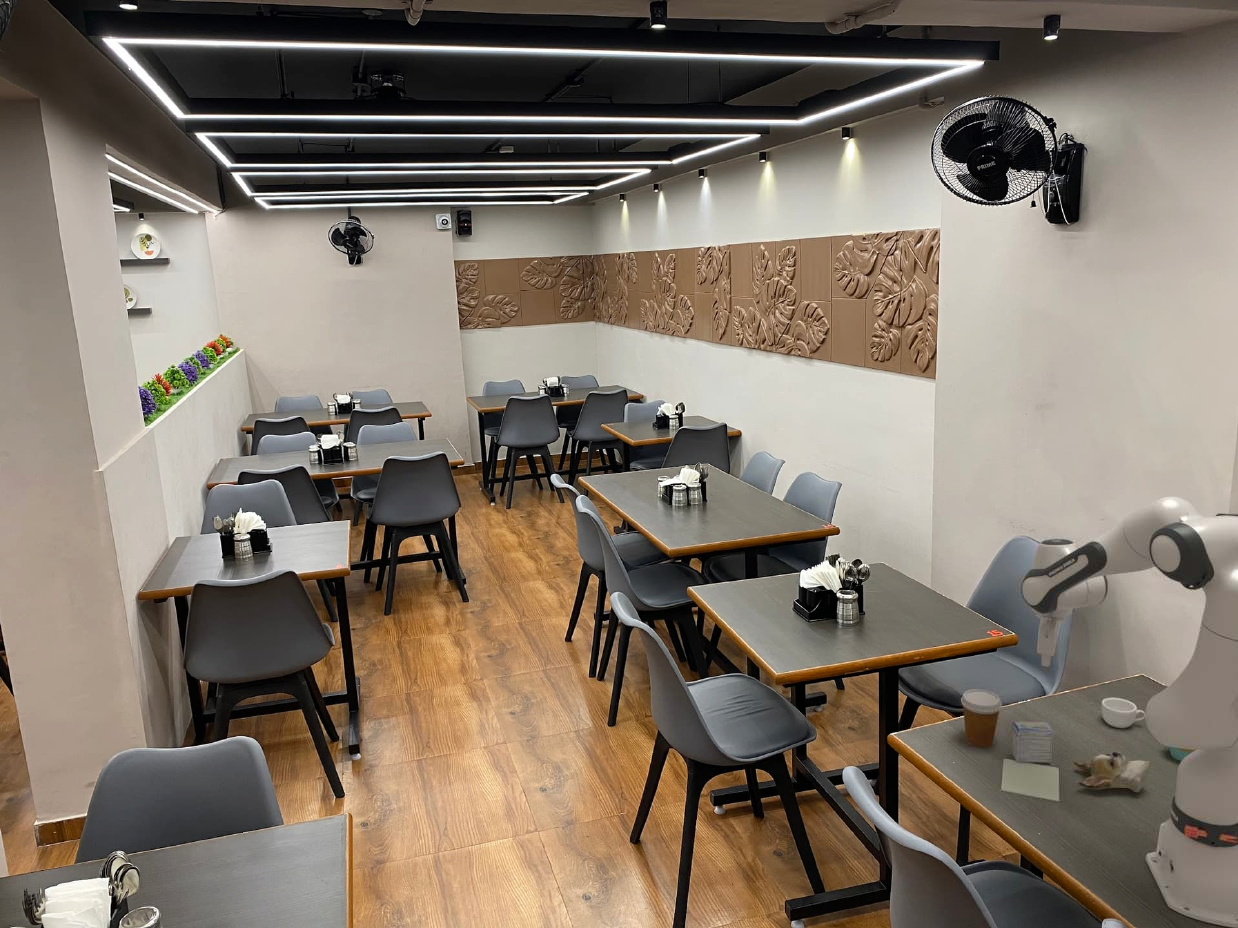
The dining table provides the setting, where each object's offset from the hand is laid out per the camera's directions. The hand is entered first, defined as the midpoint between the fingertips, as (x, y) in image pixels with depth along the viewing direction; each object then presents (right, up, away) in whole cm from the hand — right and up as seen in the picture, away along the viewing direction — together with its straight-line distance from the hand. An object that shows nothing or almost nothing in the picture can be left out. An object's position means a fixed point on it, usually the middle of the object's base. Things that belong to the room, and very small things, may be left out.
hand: (1047, 656), depth 217 cm
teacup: (+26, -21, +14) cm, 36 cm away
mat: (-8, -27, -8) cm, 29 cm away
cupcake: (+32, -24, -2) cm, 40 cm away
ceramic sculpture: (+9, -27, -11) cm, 31 cm away
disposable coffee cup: (-13, -24, +10) cm, 28 cm away
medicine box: (-4, -25, 0) cm, 25 cm away
